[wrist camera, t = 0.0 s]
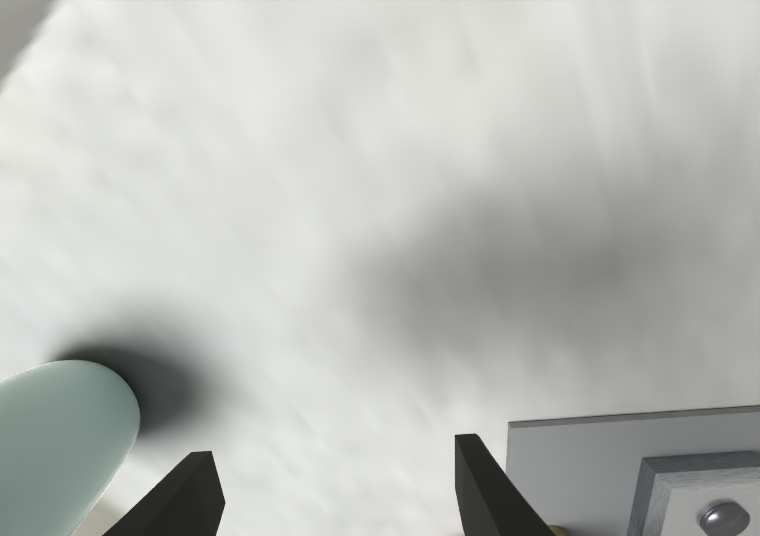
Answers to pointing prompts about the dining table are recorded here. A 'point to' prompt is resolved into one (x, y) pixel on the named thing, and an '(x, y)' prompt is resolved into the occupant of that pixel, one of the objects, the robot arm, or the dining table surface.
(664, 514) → the latch strike plate
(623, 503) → the mat
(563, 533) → the pin
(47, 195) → the dining table surface
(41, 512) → the cup
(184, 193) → the dining table surface
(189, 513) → the robot arm
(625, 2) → the dining table surface
